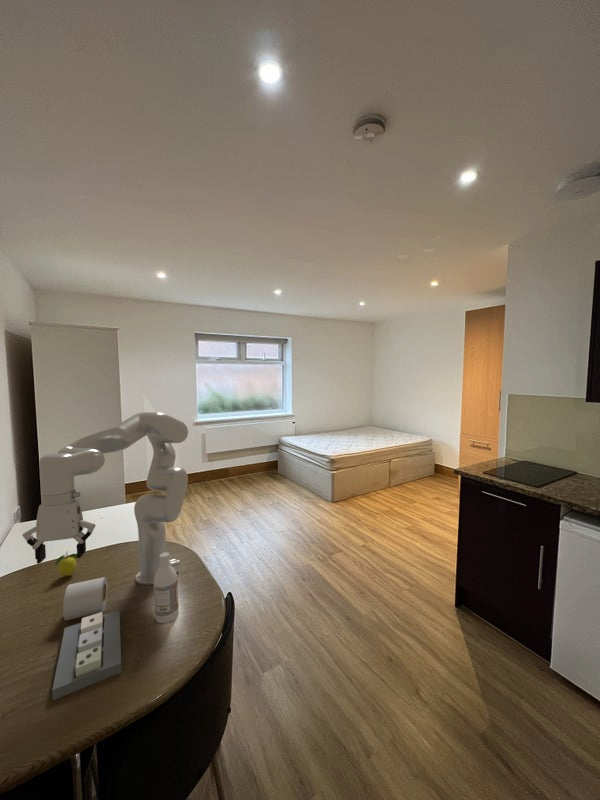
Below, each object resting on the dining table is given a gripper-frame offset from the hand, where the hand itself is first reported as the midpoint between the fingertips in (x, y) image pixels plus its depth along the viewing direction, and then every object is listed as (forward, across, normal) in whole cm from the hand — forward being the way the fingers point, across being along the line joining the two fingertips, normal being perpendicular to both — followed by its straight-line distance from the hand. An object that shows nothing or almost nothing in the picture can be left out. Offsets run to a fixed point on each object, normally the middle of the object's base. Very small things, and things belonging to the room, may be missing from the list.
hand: (61, 558), depth 90 cm
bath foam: (+25, -26, -4) cm, 37 cm away
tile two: (+24, -8, +5) cm, 25 cm away
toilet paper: (+25, -1, -14) cm, 29 cm away
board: (+25, -8, +5) cm, 27 cm away
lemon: (+25, +15, -39) cm, 49 cm away
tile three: (+24, -10, +12) cm, 29 cm away
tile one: (+24, -6, -2) cm, 24 cm away
